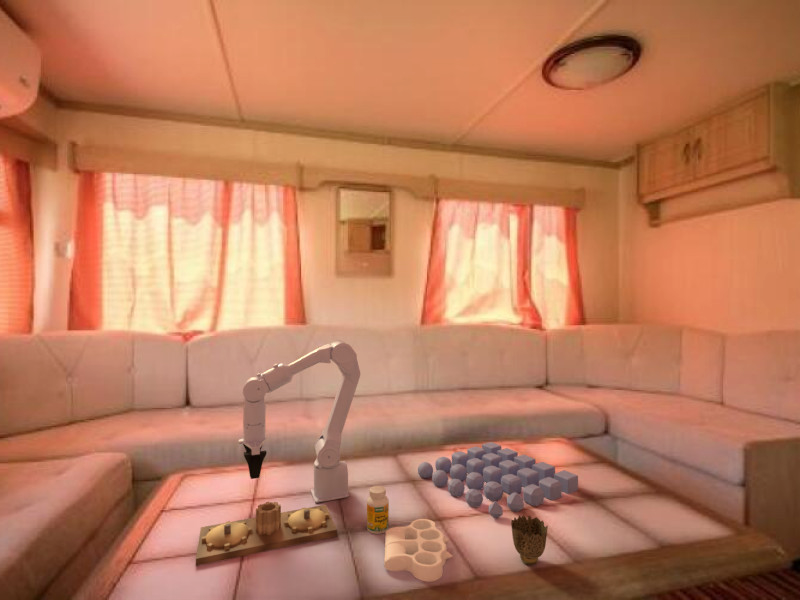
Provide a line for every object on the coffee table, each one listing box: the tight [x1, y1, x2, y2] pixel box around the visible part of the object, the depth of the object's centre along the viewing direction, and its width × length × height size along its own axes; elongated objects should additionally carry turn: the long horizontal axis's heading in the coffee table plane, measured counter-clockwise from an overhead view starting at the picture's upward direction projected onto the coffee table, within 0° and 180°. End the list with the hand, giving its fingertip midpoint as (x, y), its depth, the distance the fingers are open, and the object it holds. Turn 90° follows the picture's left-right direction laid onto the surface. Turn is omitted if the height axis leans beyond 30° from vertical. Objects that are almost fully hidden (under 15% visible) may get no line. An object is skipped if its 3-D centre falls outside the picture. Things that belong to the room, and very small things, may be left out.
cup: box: [510, 515, 548, 566], centre depth 87 cm, size 8×7×8 cm
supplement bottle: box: [366, 485, 390, 535], centre depth 100 cm, size 5×5×10 cm
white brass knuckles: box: [383, 518, 453, 582], centre depth 90 cm, size 3×18×15 cm
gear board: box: [195, 504, 338, 567], centre depth 97 cm, size 30×13×4 cm, turn 112°
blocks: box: [417, 441, 579, 519], centre depth 126 cm, size 35×34×5 cm
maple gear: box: [255, 501, 282, 535], centre depth 97 cm, size 6×6×5 cm
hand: (254, 472), depth 112 cm, fingers open, 7 cm apart
